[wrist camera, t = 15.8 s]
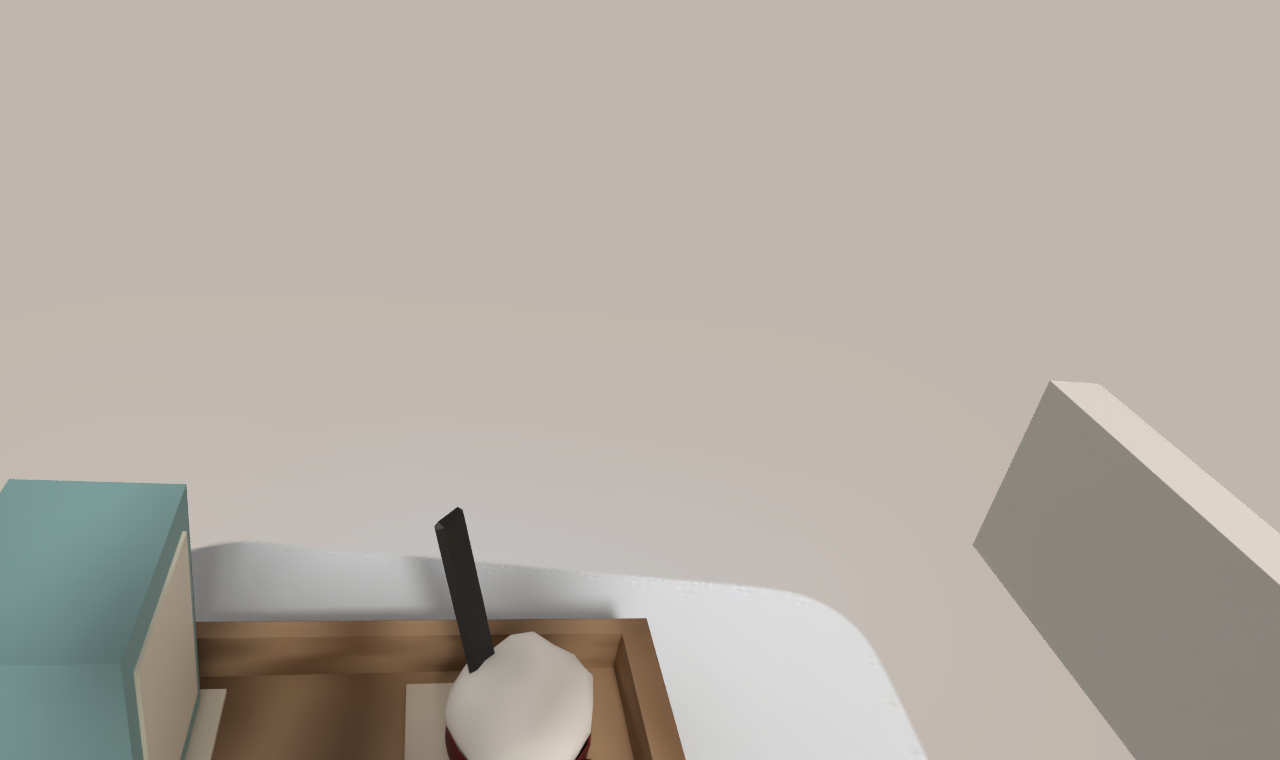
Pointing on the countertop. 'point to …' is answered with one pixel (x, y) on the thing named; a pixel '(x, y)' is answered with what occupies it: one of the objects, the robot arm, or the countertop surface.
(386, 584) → the countertop surface
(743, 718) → the countertop surface
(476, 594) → the cocoa
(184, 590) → the teal carton
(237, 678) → the tray
